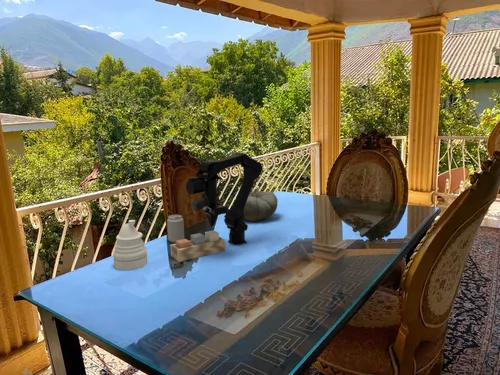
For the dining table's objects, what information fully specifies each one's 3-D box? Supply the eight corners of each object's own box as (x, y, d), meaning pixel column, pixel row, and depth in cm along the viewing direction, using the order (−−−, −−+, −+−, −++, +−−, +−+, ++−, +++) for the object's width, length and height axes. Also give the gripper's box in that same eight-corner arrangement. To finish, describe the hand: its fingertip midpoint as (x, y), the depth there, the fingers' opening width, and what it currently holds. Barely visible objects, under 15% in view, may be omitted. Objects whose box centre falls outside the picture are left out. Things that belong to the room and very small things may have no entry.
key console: (216, 245, 172) (215, 234, 171) (225, 250, 165) (224, 239, 164) (171, 256, 160) (170, 244, 159) (178, 262, 153) (178, 250, 152)
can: (180, 243, 175) (179, 218, 172) (165, 242, 176) (164, 217, 174) (186, 238, 182) (185, 214, 179) (172, 237, 183) (170, 213, 181)
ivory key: (214, 241, 169) (213, 230, 168) (219, 243, 165) (218, 232, 164) (205, 243, 166) (204, 232, 165) (210, 245, 163) (209, 234, 162)
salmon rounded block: (186, 249, 161) (185, 238, 160) (190, 252, 158) (190, 241, 157) (176, 252, 159) (175, 240, 158) (180, 255, 155) (180, 243, 154)
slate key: (200, 244, 165) (200, 233, 164) (205, 247, 161) (204, 235, 160) (191, 246, 162) (190, 235, 161) (195, 249, 159) (195, 237, 158)
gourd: (287, 211, 218) (282, 182, 214) (266, 229, 199) (260, 198, 194) (251, 210, 232) (246, 183, 228) (228, 227, 213) (221, 198, 208)
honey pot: (153, 259, 156) (151, 217, 153) (134, 271, 144) (131, 226, 141) (127, 256, 160) (124, 214, 157) (107, 267, 149) (102, 223, 145)
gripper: (183, 189, 164) (185, 224, 167) (203, 197, 149) (205, 235, 152) (206, 186, 170) (207, 220, 173) (227, 193, 155) (229, 230, 158)
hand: (211, 226), depth 164 cm, fingers closed
